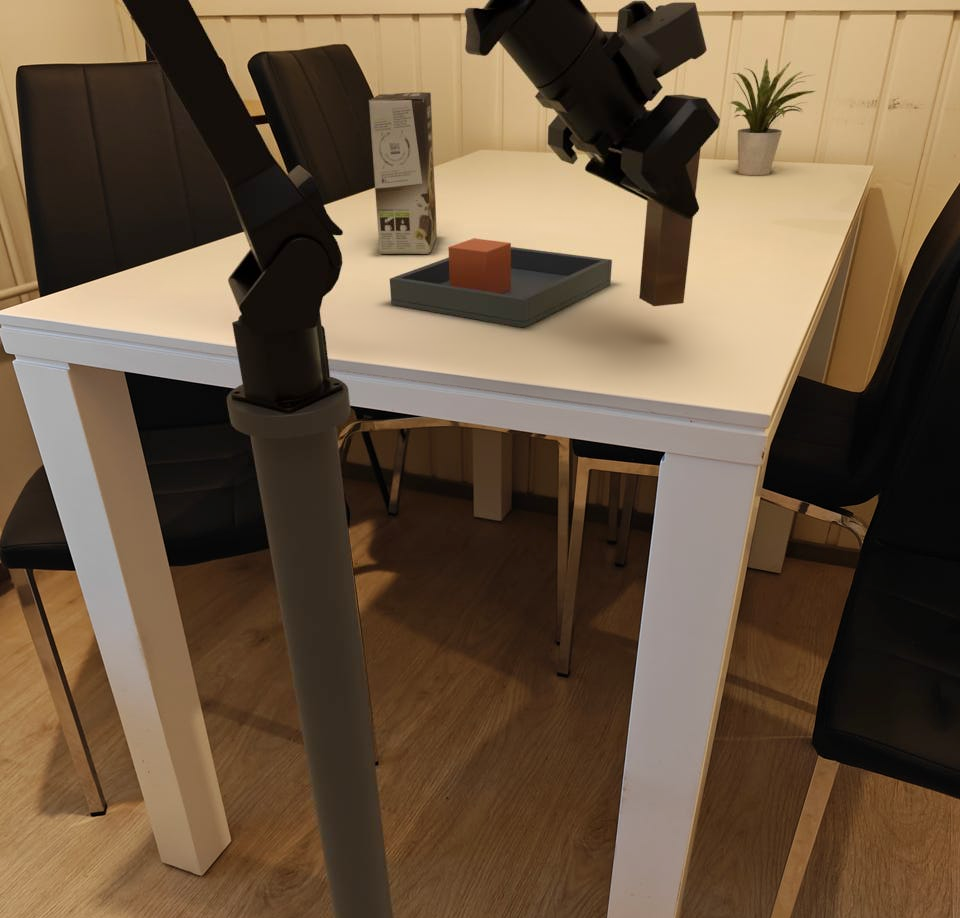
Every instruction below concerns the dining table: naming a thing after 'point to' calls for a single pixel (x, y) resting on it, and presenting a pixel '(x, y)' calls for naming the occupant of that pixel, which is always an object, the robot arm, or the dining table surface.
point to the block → (481, 265)
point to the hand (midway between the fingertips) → (684, 210)
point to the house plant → (762, 122)
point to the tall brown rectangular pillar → (666, 250)
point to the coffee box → (404, 172)
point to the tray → (533, 295)
